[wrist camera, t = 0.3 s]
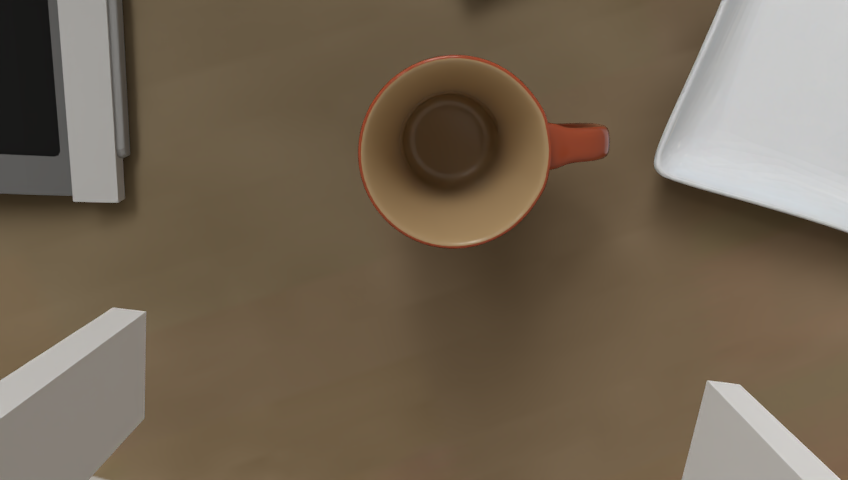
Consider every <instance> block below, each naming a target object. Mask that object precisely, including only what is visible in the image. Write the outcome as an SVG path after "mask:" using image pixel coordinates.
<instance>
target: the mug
mask: <svg viewBox="0 0 848 480" xmlns="http://www.w3.org/2000/svg"><path fill="white" fill-rule="evenodd" d="M609 143H610V137H609V130H608V128H607V127H606V126H604V125H600V124H593V123H564V124H553V123H548V121H547V118H546V115H545V112H544V110H543V108H542V107H541V105H540V103H539V102H538V100H537V99H536V98H535V96H534V95H533V94H532V92H531V91H530V90H529V89H528V88H527V87H526V86H525V84H524V83H523V82H522V81H521V80H519V79H518V78H517V77H516V76H515V75H514V74H512V73H511V72H509V71H508V70H506V69H505V68H503V67H501V66H499V65H497V64H495V63H493V62H490V61H488V60H485V59H481V58H478V57H473V56H466V55H445V56H438V57H433V58H429V59H426V60H423V61H420V62H418V63H416V64H414V65H411V66H410V67H408V68H406V69H404V70H403V71H401V72H400V73H399V74H397V75H396V76H395V77H393V78H392V79H391V80H390V81H389V82H388V83H387V84H386V85H385V86H384V87H383V88H382V89H381V90H380V92H379V93H378V94H377V96H376V97H375V99H374V100H373V102H372V103H371V105H370V107H369V109H368V111H367V113H366V115H365V118H364V121H363V124H362V127H361V131H360V137H359V144H358V162H359V169H360V174H361V178H362V182H363V184H364V187H365V190H366V192H367V194H368V196H369V198H370V200H371V202H372V203H373V205H374V207H375V208H376V209H377V211H378V212H379V213H380V214H381V216H382V217H383V218H384V219H385V220H386V221H387V222H388V223H389V224H390V225H391V226H392V227H394V228H395V229H396V230H398V231H399V232H401V233H402V234H404V235H405V236H407V237H409V238H411V239H413V240H415V241H417V242H420V243H423V244H426V245H429V246H434V247H439V248H449V249H458V248H468V247H473V246H478V245H481V244H484V243H487V242H490V241H492V240H494V239H496V238H498V237H500V236H502V235H504V234H505V233H507V232H508V231H510V230H511V229H512V228H514V227H515V226H516V225H517V224H518V223H519V222H521V221H522V220H523V219H524V218H525V216H526V215H527V214H528V213H529V212H530V211H531V209H532V208H533V207H534V205H535V204H536V202H537V201H538V199H539V198H540V196H541V194H542V192H543V191H544V189H545V186H546V183H547V180H548V176H549V170H552V169H556V168H559V167H561V166H564V165H566V164H570V163H576V162H587V161H595V160H599V159H603V158H604V157H606V156H607V154H608V152H609Z"/></svg>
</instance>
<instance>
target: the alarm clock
mask: <svg viewBox="0 0 848 480" xmlns="http://www.w3.org/2000/svg"><path fill="white" fill-rule="evenodd" d="M129 155H130V138H129V119H128V101H127V82H126V63H125V44H124V26H123V7H122V0H0V193H2V194H27V195H61V196H73V202H106V203H119V202H120V201H122V200H124V199H125V187H124V170H123V158H124V157H127V156H129Z"/></svg>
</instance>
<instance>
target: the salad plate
mask: <svg viewBox="0 0 848 480" xmlns="http://www.w3.org/2000/svg"><path fill="white" fill-rule="evenodd" d="M654 168H655V170H656V171H657V172H658V173H659V174H660V175H661V176H663V177H665V178H667V179H670V180H673V181H676V182H679V183H682V184H685V185H688V186H692V187H695V188H698V189H702V190H705V191H709V192H712V193H716V194H719V195H723V196H727V197H730V198H734V199H738V200H741V201H745V202H748V203H752V204H755V205H759V206H762V207H766V208H769V209H773V210H776V211H779V212H783V213H786V214H789V215H793V216H796V217H799V218H803V219H806V220H809V221H813V222H816V223H819V224H822V225H825V226H828V227H831V228H834V229H837V230H840V231H843V232H846V233H848V0H722V1H721V3H720V5H719V8H718V10H717V12H716V15H715V17H714V19H713V22H712V24H711V26H710V29H709V31H708V33H707V36H706V38H705V40H704V43H703V45H702V47H701V49H700V52H699V54H698V56H697V58H696V61H695V63H694V65H693V67H692V70H691V72H690V74H689V76H688V79H687V81H686V83H685V85H684V87H683V90H682V92H681V94H680V96H679V98H678V101H677V103H676V105H675V107H674V109H673V112H672V114H671V116H670V118H669V121H668V123H667V125H666V128H665V130H664V132H663V135H662V137H661V140H660V142H659V145H658V148H657V150H656V153H655V158H654Z"/></svg>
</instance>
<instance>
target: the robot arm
mask: <svg viewBox="0 0 848 480" xmlns="http://www.w3.org/2000/svg"><path fill="white" fill-rule="evenodd" d="M145 354H146V311H138V310H130V309H122V308H114V307H113V308H111V309H110V310H108V311H107V312H105V313H104V314H102V315H101V316H99V317H98V318H96V319H94V320H93V321H91V322H90V323H88V324H87V325H85V326H84V327H82V328H81V329H79V330H77V331H76V332H74V333H73V334H71V335H70V336H68V337H67V338H65V339H64V340H62V341H60V342H59V343H57V344H56V345H54V346H53V347H51V348H50V349H48V350H47V351H45V352H43V353H42V354H40V355H39V356H37V357H36V358H34V359H33V360H31V361H30V362H28V363H26V364H25V365H23V366H22V367H20V368H19V369H17V370H16V371H14V372H13V373H11V374H9V375H8V376H6V377H5V378H3V379H2V380H0V480H89V479H90V478H91V476H92V475H93V474H94V473H95V472H96V471H97V470H98V469H99V468H100V467H101V466H102V464H103V463H104V462H105V461H106V460H107V459H108V458H109V457H110V456H111V455H112V453H113V452H114V451H115V450H116V449H117V448H118V447H119V446H120V445H121V444H122V442H123V441H124V440H125V439H126V438H127V437H128V436H129V435H130V434H131V433H132V431H133V430H134V429H135V428H136V427H137V426H138V425H139V424H140V423H141V422H142V421H143V419H144V418H145ZM682 480H841V479H839V478H838V477H837V476H836V475H835V474H834V473H833V472H832V471H831V470H830V469H829V468H828V467H827V466H826V465H825V464H824V463H822V462H821V461H820V460H819V459H818V458H817V457H816V456H815V455H814V454H813V453H812V452H811V451H810V450H809V449H808V448H807V447H806V446H804V445H803V444H802V443H801V442H800V441H799V440H798V439H797V438H796V437H795V436H794V435H793V434H792V433H791V432H790V431H789V430H787V429H786V428H785V427H784V426H783V425H782V424H781V423H780V422H779V421H778V420H777V419H776V418H775V417H774V416H773V415H772V414H771V413H769V412H768V411H767V410H766V409H765V408H764V407H763V406H762V405H761V404H760V403H759V402H758V401H757V400H756V399H755V398H754V397H752V396H751V395H750V394H749V393H748V392H747V391H746V390H745V389H744V388H743V387H742V386H741V385H740V384H733V383H725V382H716V381H708V380H707V383H706V387H705V391H704V395H703V399H702V403H701V407H700V410H699V414H698V418H697V422H696V426H695V430H694V434H693V438H692V442H691V446H690V450H689V454H688V458H687V461H686V465H685V469H684V473H683V477H682Z"/></svg>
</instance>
